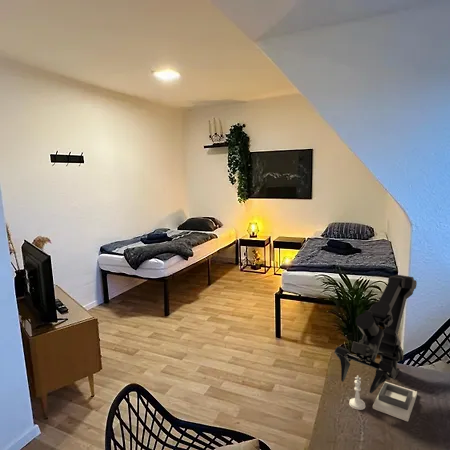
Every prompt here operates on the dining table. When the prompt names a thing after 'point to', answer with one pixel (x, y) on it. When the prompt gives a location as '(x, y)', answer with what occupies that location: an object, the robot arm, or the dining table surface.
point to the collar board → (395, 401)
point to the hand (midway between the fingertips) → (355, 386)
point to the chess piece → (357, 396)
